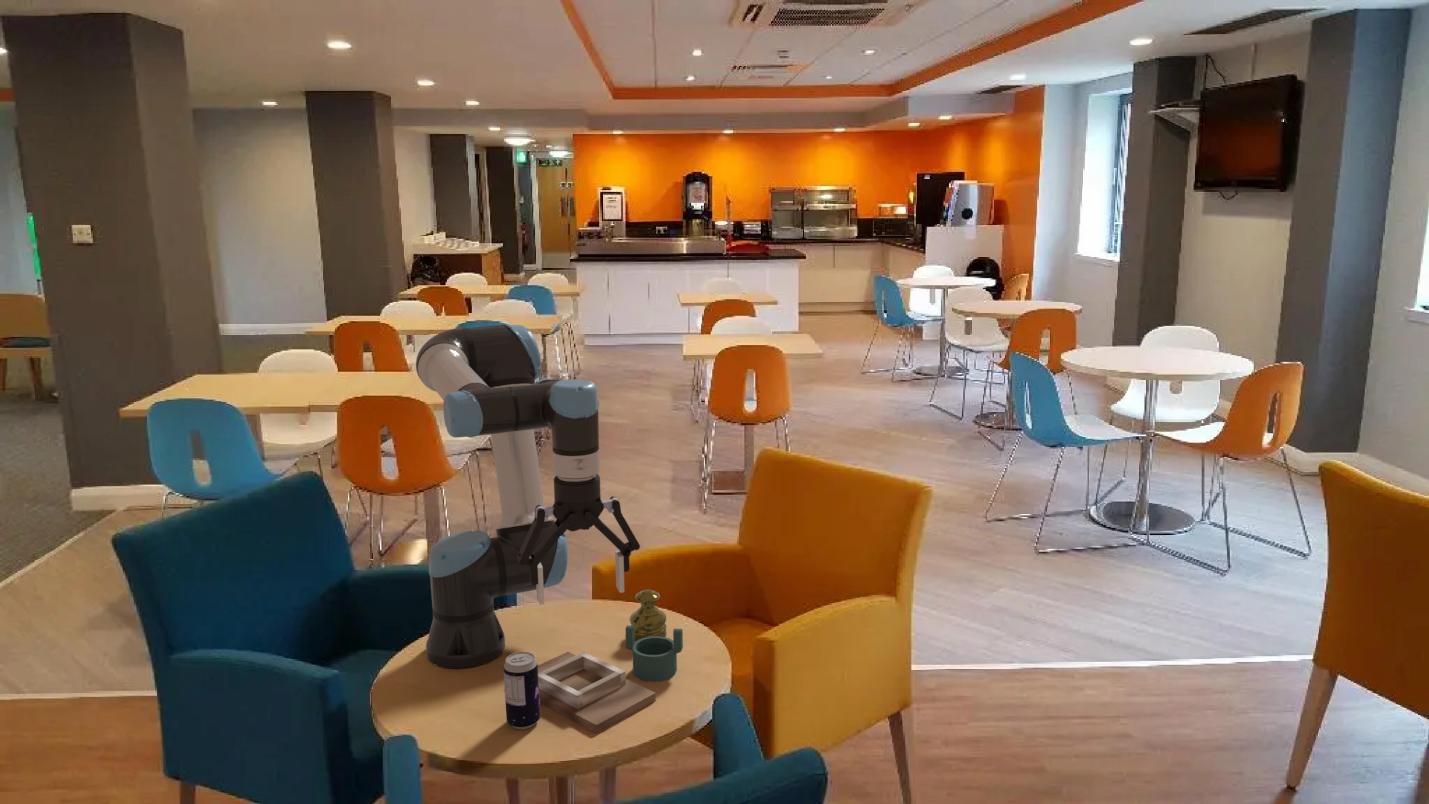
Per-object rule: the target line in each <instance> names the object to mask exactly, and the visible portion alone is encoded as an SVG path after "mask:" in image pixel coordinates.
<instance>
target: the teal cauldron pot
mask: <svg viewBox="0 0 1429 804" xmlns="http://www.w3.org/2000/svg"><path fill="white" fill-rule="evenodd" d="M672 632H673V634H672V637H673V638H672V639H671V638H669V637H667V636H666V637H660V636H652V637H646V638H642V639H640V640H638V641H636V642H635V637H634V626H631V625H626V626H625V648H626V649H627V650H629V651H631V652H632V673H633V676H634V677H635V678H637V679H638V680H640V681H643V682H647V683H648V682H650V683H652V682H653V683H657V682H664V681H667V680H670V679H672V678H673V677H674V676H675V675H676V673H677V671H678V663H677V662H678V661H677V658H678V654H679V653H682V650H683V649H684V648H683V647H684V643H683V642H684V640H683V636H684V635H683V629H682V628H673V631H672Z"/></svg>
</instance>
